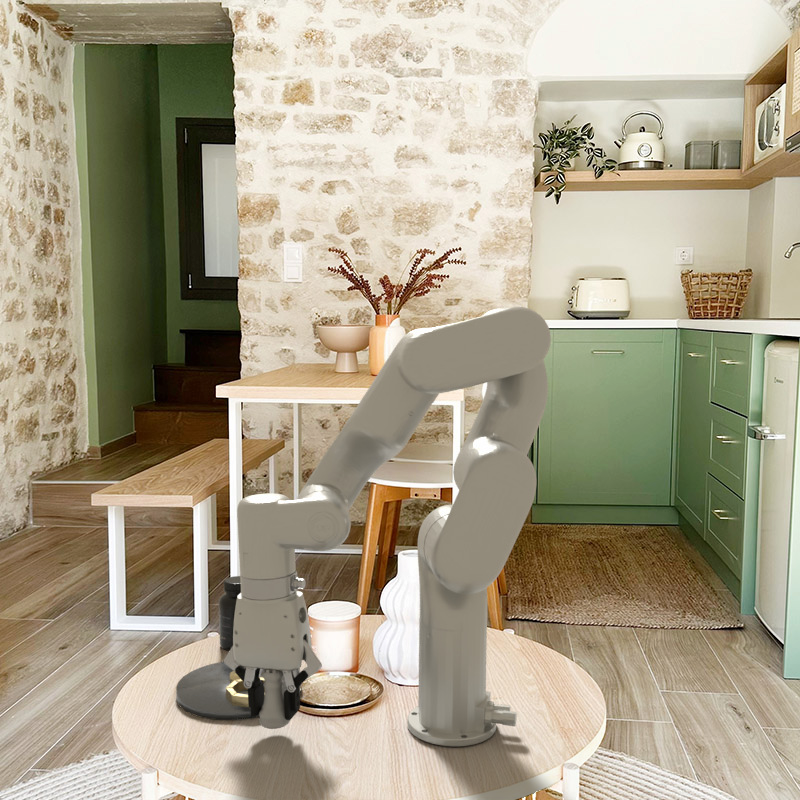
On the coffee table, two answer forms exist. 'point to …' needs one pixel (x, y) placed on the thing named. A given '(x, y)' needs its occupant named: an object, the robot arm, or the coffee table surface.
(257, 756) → the coffee table surface
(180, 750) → the coffee table surface
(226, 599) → the supplement bottle
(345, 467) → the robot arm
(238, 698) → the carrier plate
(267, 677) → the rook chess piece
